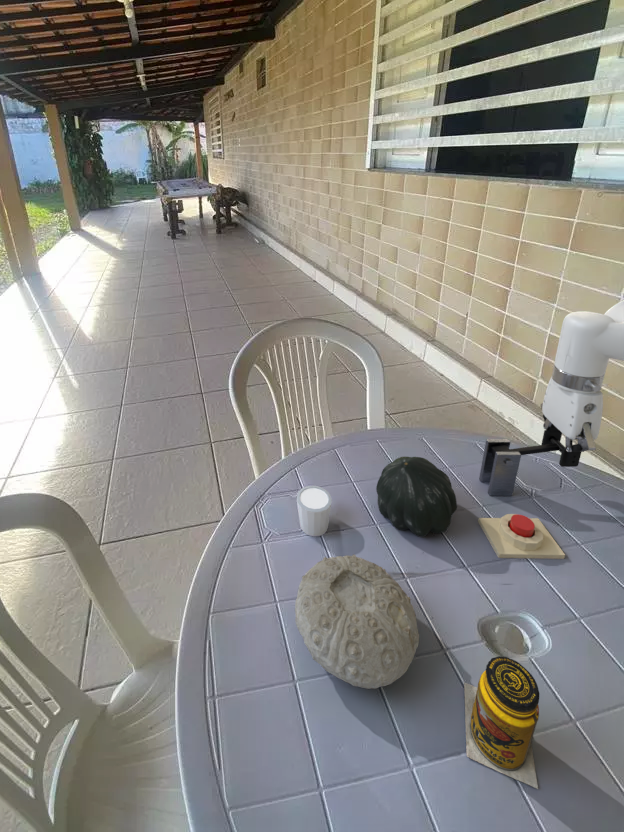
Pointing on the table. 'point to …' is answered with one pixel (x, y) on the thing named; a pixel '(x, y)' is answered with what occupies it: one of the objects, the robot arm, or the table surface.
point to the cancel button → (522, 525)
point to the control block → (519, 540)
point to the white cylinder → (314, 510)
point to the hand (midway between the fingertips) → (558, 455)
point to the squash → (416, 496)
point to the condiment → (503, 719)
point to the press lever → (532, 448)
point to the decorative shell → (356, 621)
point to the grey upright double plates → (499, 468)
